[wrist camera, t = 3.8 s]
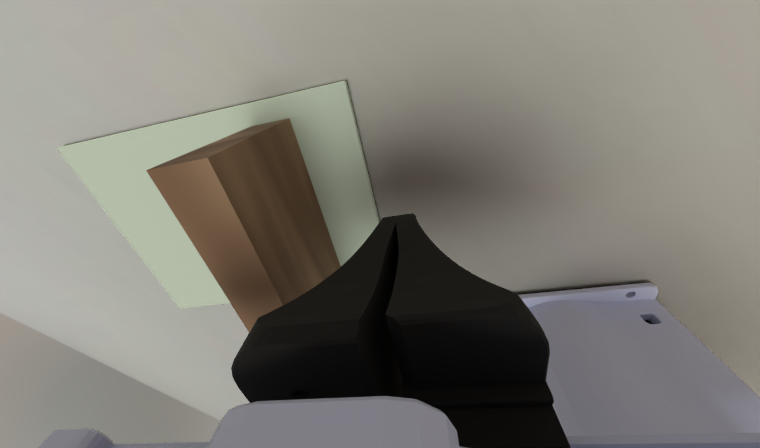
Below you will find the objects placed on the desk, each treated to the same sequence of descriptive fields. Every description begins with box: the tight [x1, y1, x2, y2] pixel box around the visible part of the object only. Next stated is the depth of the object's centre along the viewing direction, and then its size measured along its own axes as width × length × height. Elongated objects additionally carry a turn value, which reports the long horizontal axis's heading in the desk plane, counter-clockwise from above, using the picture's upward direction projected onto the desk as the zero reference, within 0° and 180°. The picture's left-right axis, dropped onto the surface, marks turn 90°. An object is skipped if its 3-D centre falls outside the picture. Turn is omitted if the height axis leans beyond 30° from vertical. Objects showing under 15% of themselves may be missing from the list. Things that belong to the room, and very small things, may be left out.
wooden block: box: [146, 118, 341, 333], centre depth 13 cm, size 2×10×6 cm, turn 12°
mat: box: [57, 80, 380, 308], centre depth 17 cm, size 16×12×1 cm
